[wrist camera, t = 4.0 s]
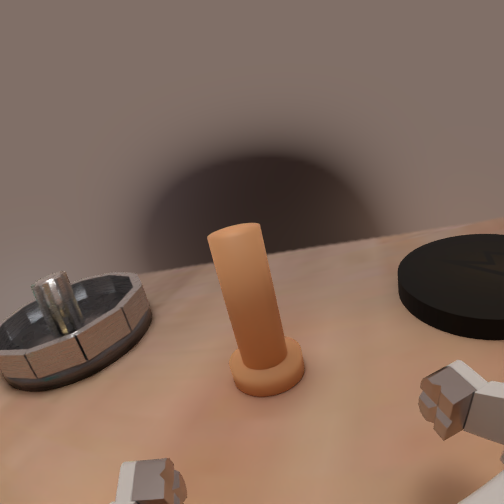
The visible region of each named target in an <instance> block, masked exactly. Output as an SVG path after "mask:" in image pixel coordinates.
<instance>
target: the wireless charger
mask: <svg viewBox="0 0 504 504" xmlns="http://www.w3.org/2000/svg"><path fill="white" fill-rule="evenodd" d="M398 289H399V296H400V299H401V301H402V303H403V304H404V306H405V307H406V308H407V310H408V311H409V312H410V313H412V314H413V315H414V316H415V317H417V318H418V319H419V320H421V321H423V322H424V323H426V324H428V325H430V326H432V327H434V328H436V329H439V330H442V331H444V332H447V333H450V334H454V335H458V336H462V337H467V338H474V339H483V340H504V235H498V234H472V235H462V236H455V237H449V238H445V239H441V240H437V241H434V242H431V243H428V244H425V245H423V246H421V247H419V248H417V249H415V250H414V251H412V252H411V253H409V254H408V255H407V256H406V257H405V258H404V259H403V260H402V261H401V263H400V265H399V268H398Z"/></svg>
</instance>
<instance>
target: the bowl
mask: <svg viewBox="0 0 504 504" xmlns="http://www.w3.org/2000/svg"><path fill="white" fill-rule="evenodd" d="M31 288H32V290H33V293H34V295H35V298H36V299H34V300H32V301H31V302H29V303H27V304H25V305H23V306H22V307H20V308H18V309H17V310H16V311H15V312H13V313H12V314H11V315H9V316H8V317H7V318H6V319H4V320H3V321H2V322H1V323H0V370H1V372H2V374H3V375H4V377H5V379H6V380H7V382H8V383H9V384H10V385H11V386H13V387H14V388H17V389H20V390H25V391H42V390H49V389H54V388H59V387H62V386H65V385H69V384H71V383H74V382H77V381H79V380H82V379H84V378H86V377H88V376H90V375H92V374H94V373H96V372H98V371H100V370H102V369H103V368H105V367H107V366H108V365H110V364H111V363H113V362H114V361H116V360H117V359H119V358H120V357H121V356H123V355H124V354H125V353H126V352H128V351H129V350H130V349H131V348H132V347H133V346H134V345H135V344H136V343H137V342H138V341H139V340H140V339H141V338H142V336H143V335H144V334H145V332H146V331H147V329H148V327H149V325H150V323H151V319H152V313H151V310H150V305H149V302H148V299H147V297H146V294H145V291H144V288H143V285H142V283H141V281H140V279H139V277H138V275H137V273H126V272H111V273H107V274H102V275H97V276H93V277H88V278H84V279H81V280H78V281H75V282H73V283H70V282H69V279H68V276H67V274H66V272H64V271H60V272H58V273H56V274H53V273H52V274H49V275H48V276H47V277H45V278H43V279H39V280H37V283H34V284H32V285H31Z"/></svg>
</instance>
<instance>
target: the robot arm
mask: <svg viewBox="0 0 504 504" xmlns="http://www.w3.org/2000/svg"><path fill="white" fill-rule="evenodd" d="M420 388H421V389H422V390H423V392H422V393H421V395H420V396H419V403H418V405H419V409H420V412H421V414H422V416H423V417H424V418H425V420H426V421H429V422H432V423H434V428H433V429H434V430H435V431H436V433H437V434H438V435H439V436H440V437H441V438H442V440H443V441H444V440H446V439H448V438H450V437H451V436H453V435H455V434H457V433H458V432H460V431H462V430H463V429H464V430H463V431H466V432H469V433H471V434H474V435H477V436H480V437H482V438H485V439H488V440H491V441H494V442H497V443H500V444H503V445H504V383H501V382H495V381H490V382H489V383H488V382H487V381H486V380H485V379H483V378H482V377H481V376H480V375H479V374H477V373H476V372H475V371H474V370H472V369H471V368H470V367H469V366H468V365H466V364H465V363H464V362H463V361H461V360H456V361H455V362H453V363H451V364H449V365H447V366H446V367H443V368H442V369H440V370H438V371H436V372H434V373H432V374H431V375H429V376H427V377H425V378H423V379H422V381H421V385H420ZM500 460H501V461H502V462H503V464H504V451H503V453H502V455H501V458H500ZM186 498H187V489H186V485H185V481H184V479H183V477H182V475H181V474H180V472H178V471H176V470H174V464H173V462H172V461H171V460H170V458H164V459H154V460H142V461H130V462H123V464H122V465H121V468H120V474H119V480H118V486H117V493H116V500H115V502H111V503H110V504H184V503H183V502H184V501H185V499H186ZM457 504H504V470H503V471H501V472H500V473H499V474H498V475H496V476H495V477H494V478H492V479H491V480H490V481H488V482H487V483H486V484H484V485H483V486H482V487H480V488H479V489H477V490H476V491H475V492H473V493H472V494H470V495H469V496H467V497H466V498H464V499H463V500H461V501H460V502H458V503H457Z"/></svg>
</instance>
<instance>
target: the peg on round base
mask: <svg viewBox="0 0 504 504" xmlns="http://www.w3.org/2000/svg"><path fill="white" fill-rule="evenodd" d="M207 238H208V242H209V246H210V250H211V253H212V257H213V261H214V265H215V268H216V272H217V275H218V279H219V283H220V286H221V290H222V293H223V297H224V300H225V304H226V307H227V311H228V314H229V318H230V321H231V324H232V328H233V331H234V335H235V338H236V341H237V345H238V349H237V350H235V352H234V353H233V354H232V356H231V358H230V361H229V365H230V369H231V372H232V375H233V378H234V381H235V383H236V386H237V387H238V389H239V390H241V391H242V392H244V393H246V394H248V395H252V396H258V397H265V396H272V395H276V394H280V393H282V392H285V391H287V390H289V389H290V388H292V387H293V386H295V385H296V384H297V383H298V382H299V381H300V379H301V378H302V376H303V374H304V362H303V357H302V351H301V347H300V345H299V344H298V342H296V341H295V340H294V339H292V338H289V337H285V336H284V333H283V328H282V324H281V319H280V314H279V310H278V305H277V301H276V296H275V291H274V287H273V282H272V278H271V273H270V269H269V264H268V260H267V255H266V251H265V247H264V242H263V237H262V233H261V228H260V225H259V224H258V223H245V224H239V225H234V226H230V227H226V228H223V229H220V230H218V231H215V232H213V233H212V234H210V235H209V236H208V237H207Z"/></svg>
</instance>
